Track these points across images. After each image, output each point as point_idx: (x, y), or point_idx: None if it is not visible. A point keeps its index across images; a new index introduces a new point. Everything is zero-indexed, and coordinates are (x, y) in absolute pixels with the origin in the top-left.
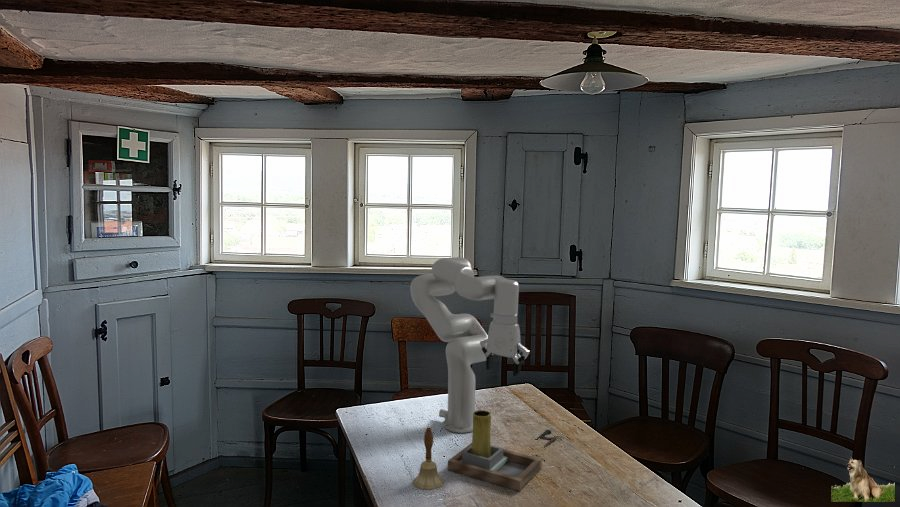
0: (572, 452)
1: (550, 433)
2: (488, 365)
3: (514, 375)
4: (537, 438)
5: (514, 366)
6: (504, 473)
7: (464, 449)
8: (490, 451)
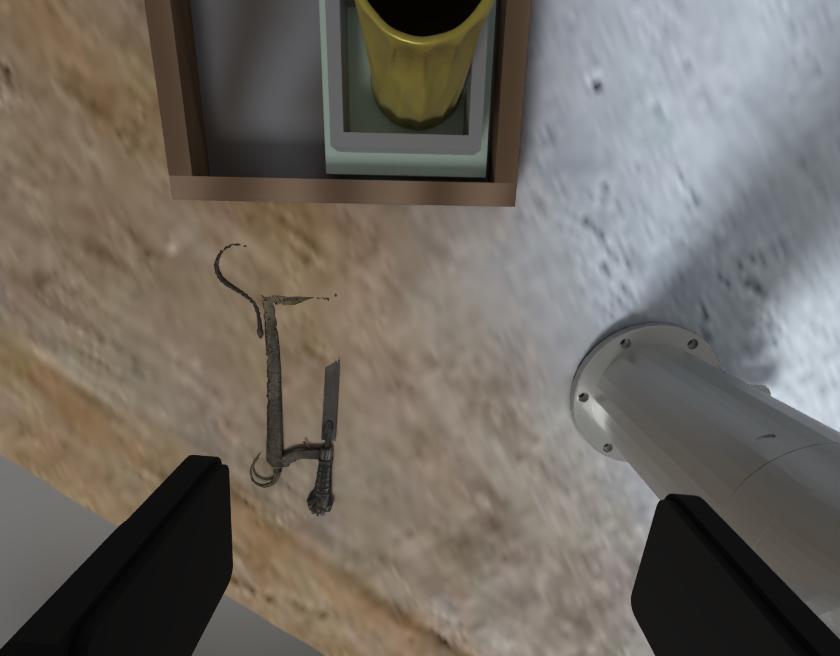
0: (169, 396)
1: (308, 497)
2: (704, 542)
3: (195, 455)
4: (328, 434)
5: (96, 580)
6: (290, 57)
7: (517, 99)
8: (378, 94)
